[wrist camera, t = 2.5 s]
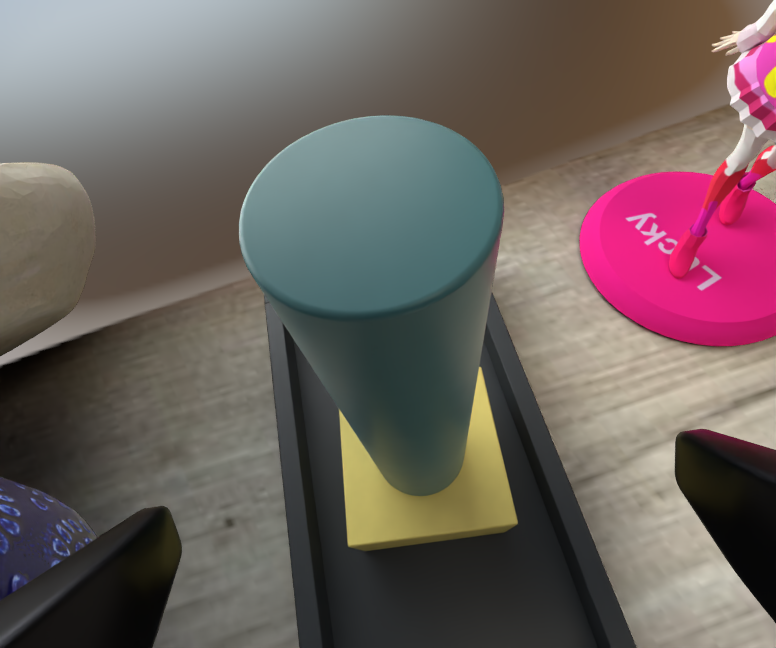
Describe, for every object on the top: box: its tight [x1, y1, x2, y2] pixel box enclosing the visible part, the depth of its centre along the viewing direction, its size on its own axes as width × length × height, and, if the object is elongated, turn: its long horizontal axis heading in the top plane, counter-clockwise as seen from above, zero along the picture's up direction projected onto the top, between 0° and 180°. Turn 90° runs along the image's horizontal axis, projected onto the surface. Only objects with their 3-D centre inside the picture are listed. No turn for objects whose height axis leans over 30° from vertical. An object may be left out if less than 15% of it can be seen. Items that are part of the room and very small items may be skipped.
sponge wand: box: [239, 116, 518, 551], centre depth 11 cm, size 5×5×14 cm
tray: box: [264, 292, 637, 648], centre depth 17 cm, size 16×9×2 cm, turn 12°
